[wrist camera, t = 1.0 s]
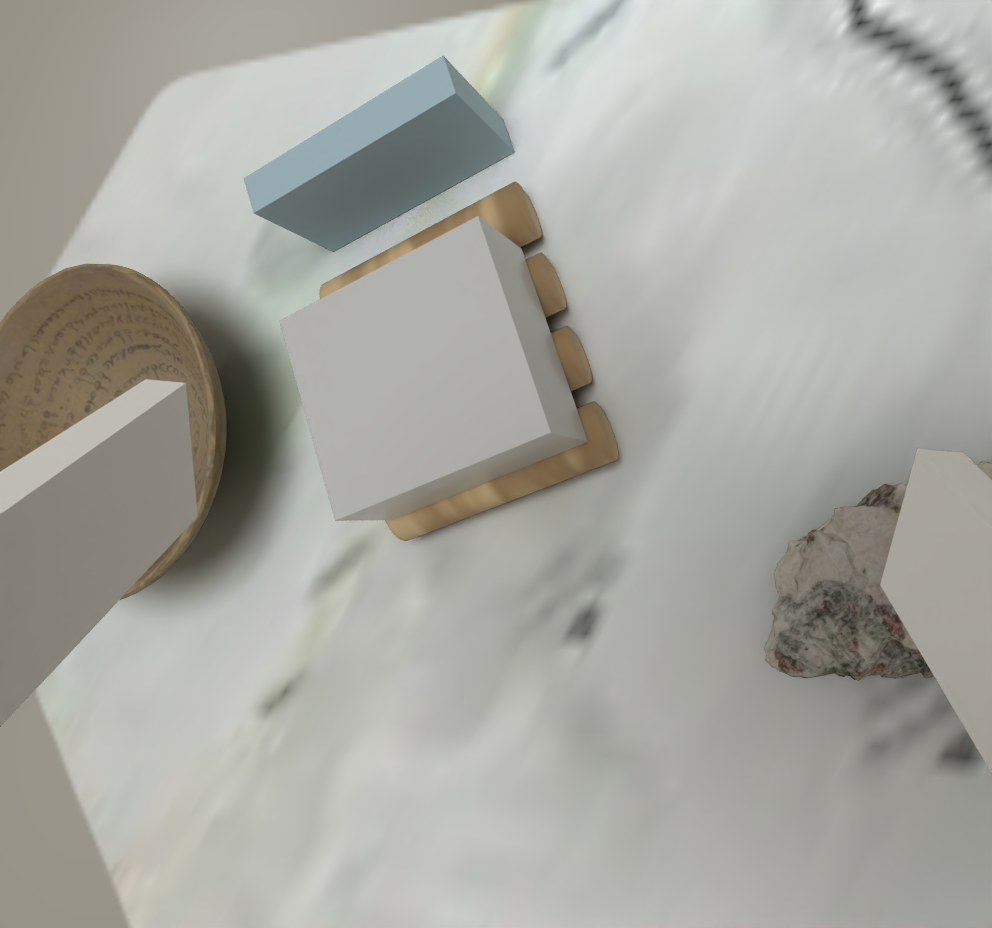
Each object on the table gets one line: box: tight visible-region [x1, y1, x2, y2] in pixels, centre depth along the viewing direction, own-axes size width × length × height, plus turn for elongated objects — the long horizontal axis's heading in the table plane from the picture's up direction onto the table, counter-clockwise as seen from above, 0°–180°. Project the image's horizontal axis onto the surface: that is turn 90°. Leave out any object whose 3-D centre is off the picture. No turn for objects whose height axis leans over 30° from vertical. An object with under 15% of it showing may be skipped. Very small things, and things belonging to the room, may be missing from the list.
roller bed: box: [320, 182, 618, 541], centre depth 44 cm, size 12×15×3 cm
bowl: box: [0, 264, 226, 600], centre depth 50 cm, size 18×18×8 cm
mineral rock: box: [764, 462, 992, 681], centre depth 35 cm, size 15×8×4 cm, turn 104°
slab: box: [279, 216, 588, 521], centre depth 40 cm, size 11×10×5 cm
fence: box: [244, 56, 514, 252], centre depth 45 cm, size 12×2×7 cm, turn 109°
